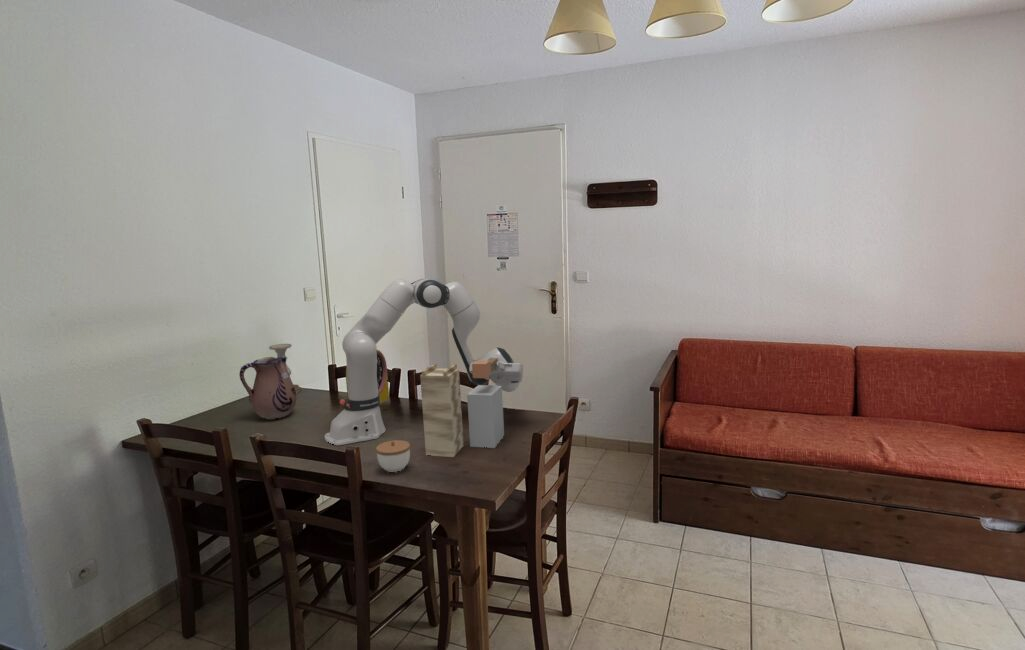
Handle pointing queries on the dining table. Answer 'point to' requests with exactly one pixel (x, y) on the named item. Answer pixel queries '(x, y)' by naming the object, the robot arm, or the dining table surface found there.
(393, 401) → the dining table surface
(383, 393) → the alarm clock
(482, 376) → the orange brown rectangular bar
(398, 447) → the lidded jar
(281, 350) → the candle holder
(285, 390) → the ceramic pitcher
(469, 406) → the pedestal
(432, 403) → the beige wooden block tower
